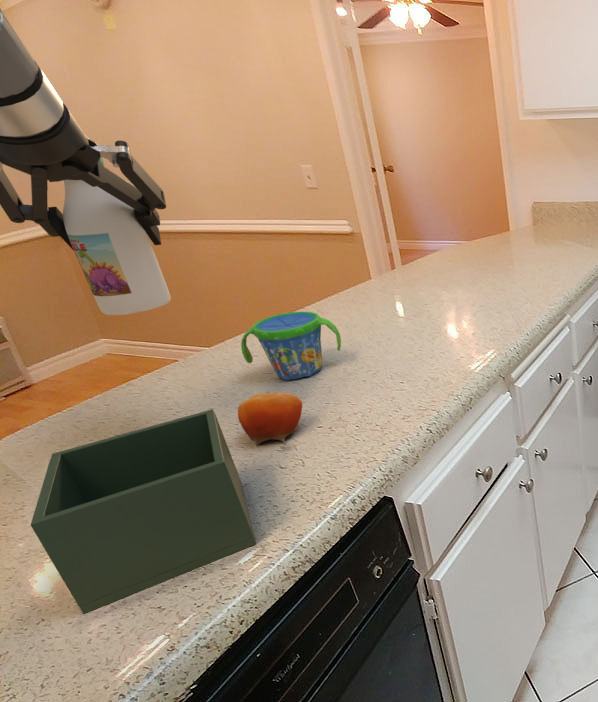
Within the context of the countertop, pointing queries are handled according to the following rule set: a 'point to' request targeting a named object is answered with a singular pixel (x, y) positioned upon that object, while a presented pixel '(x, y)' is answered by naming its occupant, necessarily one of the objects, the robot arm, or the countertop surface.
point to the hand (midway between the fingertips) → (119, 241)
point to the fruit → (270, 416)
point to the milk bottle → (112, 251)
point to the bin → (141, 508)
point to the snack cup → (291, 343)
